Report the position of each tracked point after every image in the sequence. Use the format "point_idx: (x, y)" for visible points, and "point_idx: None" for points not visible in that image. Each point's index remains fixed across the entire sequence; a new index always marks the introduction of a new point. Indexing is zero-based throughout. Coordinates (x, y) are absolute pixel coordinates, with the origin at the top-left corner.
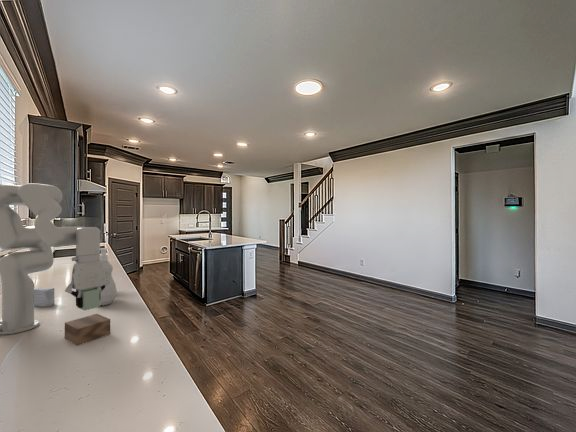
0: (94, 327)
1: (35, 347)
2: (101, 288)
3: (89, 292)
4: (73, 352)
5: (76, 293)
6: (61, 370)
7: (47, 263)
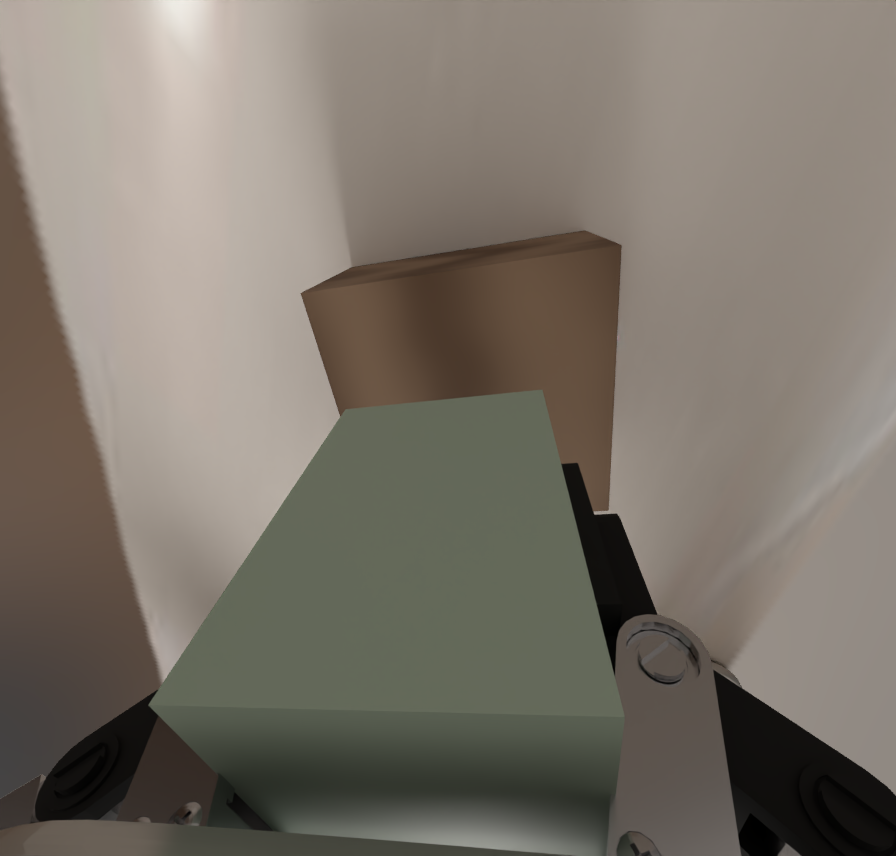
0: (455, 264)
1: (743, 428)
2: (154, 738)
3: (455, 653)
4: (660, 92)
5: (756, 773)
6: None
7: None
